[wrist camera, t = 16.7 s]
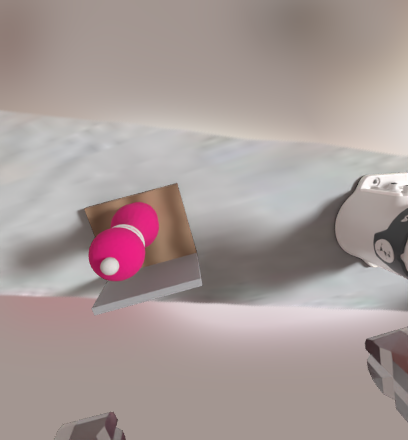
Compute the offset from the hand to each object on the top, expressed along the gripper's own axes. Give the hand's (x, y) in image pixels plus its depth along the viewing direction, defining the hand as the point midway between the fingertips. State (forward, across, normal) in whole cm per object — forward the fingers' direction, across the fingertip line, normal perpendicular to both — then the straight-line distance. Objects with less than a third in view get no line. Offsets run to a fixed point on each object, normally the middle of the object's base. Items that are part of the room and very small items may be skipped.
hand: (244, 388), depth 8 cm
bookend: (+39, -10, -4) cm, 41 cm away
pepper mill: (+37, -10, -1) cm, 39 cm away
